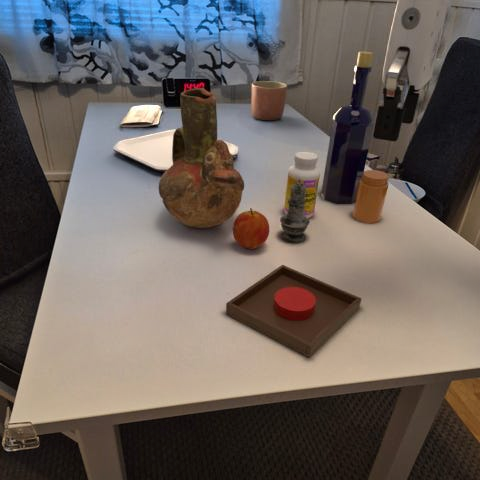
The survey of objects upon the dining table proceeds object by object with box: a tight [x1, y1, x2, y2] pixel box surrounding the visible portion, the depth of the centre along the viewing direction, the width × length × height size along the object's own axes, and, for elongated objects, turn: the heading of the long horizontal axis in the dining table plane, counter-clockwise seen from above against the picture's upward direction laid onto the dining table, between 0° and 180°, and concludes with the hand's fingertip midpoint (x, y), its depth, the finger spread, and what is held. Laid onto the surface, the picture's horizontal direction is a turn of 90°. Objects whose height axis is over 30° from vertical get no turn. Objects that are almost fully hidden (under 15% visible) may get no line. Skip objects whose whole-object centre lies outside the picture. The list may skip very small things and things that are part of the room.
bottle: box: [320, 51, 376, 205], centre depth 98 cm, size 9×9×30 cm
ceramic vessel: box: [158, 87, 245, 229], centre depth 85 cm, size 17×26×25 cm, turn 29°
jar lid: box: [274, 287, 316, 320], centre depth 69 cm, size 6×6×2 cm
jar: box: [352, 169, 390, 224], centre depth 96 cm, size 6×6×10 cm
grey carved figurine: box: [279, 179, 311, 244], centre depth 86 cm, size 6×6×12 cm
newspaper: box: [119, 104, 163, 128], centre depth 155 cm, size 23×12×2 cm, turn 1°
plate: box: [112, 128, 239, 173], centre depth 126 cm, size 29×29×2 cm
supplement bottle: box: [283, 151, 321, 219], centre depth 95 cm, size 7×7×13 cm
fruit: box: [232, 207, 270, 250], centre depth 84 cm, size 7×7×8 cm
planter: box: [250, 80, 288, 121], centre depth 159 cm, size 12×12×11 cm
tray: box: [225, 264, 362, 358], centre depth 70 cm, size 15×15×2 cm
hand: (393, 130), depth 62 cm, fingers open, 9 cm apart
